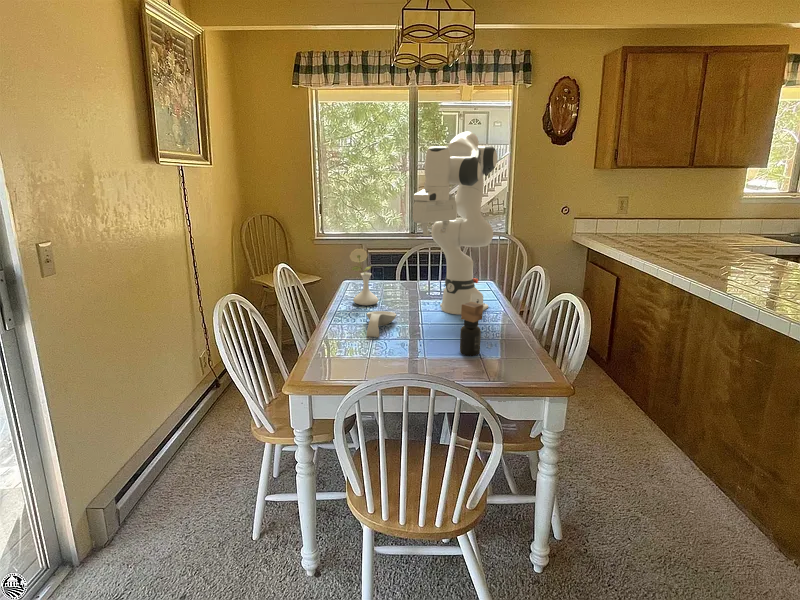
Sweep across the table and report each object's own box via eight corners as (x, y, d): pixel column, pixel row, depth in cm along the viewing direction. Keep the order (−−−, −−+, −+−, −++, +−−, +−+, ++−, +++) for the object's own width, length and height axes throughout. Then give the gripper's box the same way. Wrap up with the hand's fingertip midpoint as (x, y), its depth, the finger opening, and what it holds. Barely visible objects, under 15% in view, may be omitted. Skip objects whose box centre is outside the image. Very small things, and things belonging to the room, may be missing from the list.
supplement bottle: (476, 349, 174) (478, 315, 170) (482, 356, 167) (484, 322, 164) (456, 350, 173) (458, 316, 169) (462, 357, 166) (464, 322, 163)
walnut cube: (469, 315, 170) (470, 301, 169) (482, 319, 167) (483, 304, 165) (460, 319, 167) (461, 304, 165) (473, 322, 163) (474, 307, 162)
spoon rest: (369, 318, 207) (369, 301, 205) (397, 319, 205) (398, 302, 203) (357, 337, 184) (357, 318, 182) (389, 339, 183) (389, 320, 181)
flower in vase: (380, 301, 231) (380, 246, 224) (376, 307, 220) (377, 251, 213) (352, 299, 232) (351, 245, 226) (347, 306, 221) (346, 250, 215)
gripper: (448, 193, 184) (446, 231, 188) (410, 195, 170) (409, 236, 174) (462, 194, 180) (460, 232, 184) (424, 196, 166) (423, 238, 170)
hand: (435, 234), depth 179 cm, fingers open, 8 cm apart
